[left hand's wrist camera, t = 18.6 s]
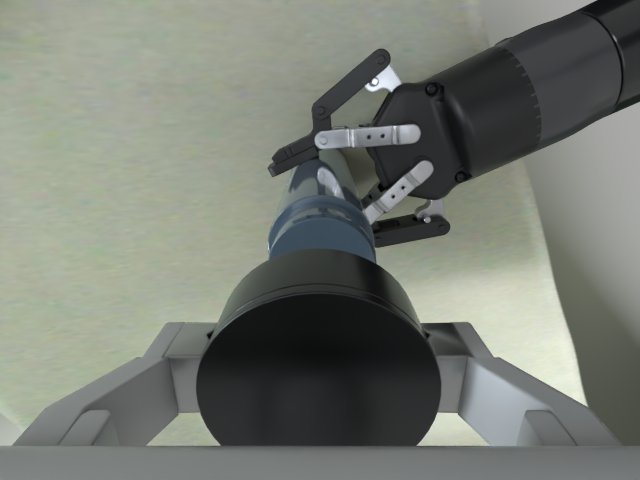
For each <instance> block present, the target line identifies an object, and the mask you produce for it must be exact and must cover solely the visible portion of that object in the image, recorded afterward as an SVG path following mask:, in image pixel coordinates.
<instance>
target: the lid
mask: <svg viewBox="0 0 640 480" xmlns="http://www.w3.org/2000/svg"><path fill="white" fill-rule="evenodd" d="M441 388H442V381H441V374H440V369H439V366H438V363H437V360H436V357H435V354H434V352H433V350H432V348H431V345H430V343H429V341H428V339H427V337H426V334H425V332H424V330H423V328H422V326H421V323H420V321H419V319H418V317H417V314H416V312H415V310H414V308H413V306H412V303H411V301H410V299H409V298H408V296H407V294H406V292H405V291H404V289H403V288H402V287H401V285H400V284H399V283H398V282H397V281H396V280H395V278H394V277H393V276H392V275H391V274H389V273H388V272H387V271H386V270H384V269H383V268H382V267H380V266H379V265H377V264H375V263H373V262H372V261H370V260H368V259H366V258H363V257H361V256H358V255H356V254H352V253H349V252H345V251H340V250H334V249H317V248H314V249H304V250H298V251H293V252H289V253H285V254H282V255H280V256H277V257H274V258H272V259H270V260H268V261H266V262H264V263H262V264H261V265H259V266H258V267H256V268H255V269H254V270H252V271H251V272H250V273H249V274H248V275H247V276H245V277H244V278H243V279H242V280H241V282H240V283H239V284H238V285H237V286H236V288H235V289H234V291H233V292H232V294H231V296H230V297H229V299H228V301H227V303H226V306H225V308H224V310H223V312H222V314H221V316H220V319H219V321H218V323H217V325H216V327H215V329H214V332H213V334H212V336H211V338H210V340H209V343H208V345H207V347H206V349H205V351H204V354H203V356H202V359H201V361H200V363H199V367H198V372H197V377H196V395H197V403H198V406H199V410H200V413H201V416H202V418H203V420H204V422H205V424H206V426H207V428H208V429H209V431H210V432H211V434H212V435H213V437H214V438H215V439H216V440H217V441H218V442H219V444H220V445H221V446H416V445H417V444H418V443H419V442H420V441H421V440H422V439H423V437H424V436H425V435H426V433H427V432H428V431H429V429H430V427H431V425H432V424H433V422H434V420H435V417H436V414H437V412H438V409H439V405H440V400H441Z"/></svg>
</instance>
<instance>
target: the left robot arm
mask: <svg viewBox="0 0 640 480" xmlns="http://www.w3.org/2000/svg"><path fill="white" fill-rule="evenodd" d="M216 325H217V323H201V322H186V323H185V322H169V323H166V324H165V326H164V327H163V328H162V330H161V331H160V333H159V334H158V336H157V337H156V338H155V340H154V341H153V343H152V344H151V346H150V347H149V348H148V350H147V351H146V353H145V354H144V356H143V357H137V358H135V359H133V360H131V361H130V362H128V363H126V364H124V365H122V366H121V367H119V368H117V369H115V370H113V371H112V372H110V373H108V374H106V375H104V376H103V377H101V378H99V379H97V380H95V381H94V382H92V383H90V384H88V385H86V386H85V387H83V388H81V389H79V390H77V391H76V392H74V393H72V394H70V395H68V396H67V397H65V398H63V399H61V400H59V401H58V402H56V403H54V404H52V405H50V406H49V407H47V408H45V409H44V410H43V412H42V413H41V414H40V415H39V416H38V417H37V418H36V419H35V420H34V422H33V423H32V424H31V425H30V426H29V427H28V428H27V429H26V430H25V432H24V433H23V434H22V435H21V436H20V437H19V438H18V439H17V440H16V442H15V443H14V444H13V445H12V446H0V480H640V446H623V445H622V444H621V443H620V442H619V441H618V440H617V438H616V437H615V436H614V435H613V434H612V433H611V432H610V430H609V429H608V428H607V427H606V426H605V425H604V424H603V422H602V421H601V420H600V419H599V418H598V417H597V416H596V414H595V413H594V412H593V411H592V410H591V409H590V408H588V407H586V406H585V405H583V404H581V403H579V402H578V401H576V400H574V399H572V398H570V397H569V396H567V395H565V394H563V393H562V392H560V391H558V390H556V389H554V388H553V387H551V386H549V385H547V384H546V383H544V382H542V381H540V380H538V379H537V378H535V377H533V376H531V375H530V374H528V373H526V372H524V371H522V370H521V369H519V368H517V367H515V366H514V365H512V364H510V363H508V362H506V361H505V360H503V359H501V358H499V357H493V355H492V354H491V352H490V351H489V350H488V348H487V347H486V345H485V344H484V342H483V341H482V339H481V338H480V337H479V335H478V334H477V332H476V331H475V329H474V328H473V326H472V325H471V324H470V323H469V322H450V323H421V326H422V328H423V330H424V332H425V334H426V337H427V339H428V341H429V343H430V345H431V348H432V350H433V352H434V354H435V357H436V360H437V363H438V366H439V369H440V374H441V381H442V388H441V400H440V405H439V409H438V412H441V413H458V415H459V416H460V417H461V418H462V419H463V420H464V421H465V422H466V423H467V424H468V425H470V426H471V427H472V428H473V429H474V430H475V431H476V432H477V433H478V434H479V435H480V436H481V437H482V438H483V439H484V440H485V441H486V442H487V443H489V444H490V445H491V446H146V445H147V444H148V443H149V442H150V441H151V440H152V439H153V438H154V437H155V436H156V435H157V434H158V433H159V432H161V431H162V430H163V429H164V428H165V427H166V426H167V425H168V424H169V423H170V422H171V421H172V420H173V419H174V418H175V417H177V416H178V413H195V412H200V410H199V406H198V403H197V395H196V377H197V372H198V367H199V363H200V361H201V359H202V356H203V354H204V351H205V349H206V347H207V345H208V343H209V340H210V338H211V336H212V334H213V332H214V329H215V327H216Z"/></svg>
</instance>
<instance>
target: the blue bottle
mask: <svg viewBox="0 0 640 480" xmlns="http://www.w3.org/2000/svg"><path fill="white" fill-rule="evenodd" d="M374 247H375V244H374V234H373V231H372V227H371V225H370V222H369V220H368V217H367V214H366V212H365V209H364V206H363V204H362V201H361V199H360V196H359V193H358V191H357V188H356V186H355V183H354V180H353V178H352V175H351V173H350V170H349V167H348V165H347V162H346V160H345V158H344V156H343V155H342V154H341V152H340V151H338V150H337V149H336V148H335V149H323V150H321V151H319V156H317V157H314V158H312V159H310V160H308V161H306V162H304V163H302V164H300V165H298V166H296V167H294V168H292V171H291V174H290V177H289V179H288V182H287V185H286V188H285V190H284V193H283V196H282V198H281V201H280V204H279V207H278V209H277V212H276V215H275V218H274V220H273V223H272V226H271V229H270V232H269V237H268V252H269V259H268V260H270V259H272V258H274V257H277V256H280V255H282V254H285V253H289V252H293V251H298V250H304V249H314V248H317V249H334V250H340V251H345V252H349V253H352V254H356V255H358V256H361V257H363V258H366V259H368V260H370V261H372V262H373V263H375V264H376V253H375V249H374Z"/></svg>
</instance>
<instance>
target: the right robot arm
mask: <svg viewBox="0 0 640 480" xmlns="http://www.w3.org/2000/svg"><path fill="white" fill-rule="evenodd" d="M363 87H364V88H365V90H367V91H369V92H375V91H378V90H379V89H386V90H387V91H388V92H389V93H388V95H387V97H386V98H385V100H384V102H383V104H382V105H381V107H380V109H379V110H378V112H377V114H376V116H375V117H374V119H373V121H372V123H365V124H353V125H347V126H338V127H331V117H330V115H331V114H332V113H333V112H334V111H336V110H337V109H338V108H339V107H340V106H342V105H343V104H344V103H345V102H346V101H347V100H349V99H350V98H351V97H352V96H353V95H355V94H356V93H357V92H358V91H359V90H361V89H362V88H363ZM638 102H640V0H597V1H595V2H593V3H591V4H589V5H587V6H585V7H583V8H580V9H579V10H576V11H575V12H572V13H570V14H568V15H566V16H563V17H561V18H558V19H556V20H553V21H550V22H547V23H544V24H541V25H538V26H535V27H533V28H531V29H528V30H526V31H524V32H522V33H520V34H518V35H516V36H514V37H510V38H506V39H504V40H502V41H500V42H498V43H497V44H496V45H495V46H494V47H491V48H489V49H487V50H485V51H483V52H481V53H479V54H477V55H475V56H473V57H471V58H469V59H467V60H465V61H463V62H461V63H459V64H457V65H455V66H453V67H451V68H449V69H447V70H445V71H443V72H441V73H439V74H436V75H434V76H432V77H430V78H428V79H426V80H424V81H422V82H419V83H402V81H401V80H400V78H399V77H398V75H397V74H396V72H395V71H394V69H393V68H392V66H391V65H390V54H389V53H388V51H387V50H385V49H378V50H376V51H375V52H373V53H372V54H371V55H369V56H368V57H367V58H366V59H365V60H364V61H363V62H361V63H360V64H359V65H358V66H357V67H356V68H354V69H353V70H352V71H351V72H350V73H349V74H347V75H346V76H345V77H344V78H343V79H342V80H340V81H339V82H338V83H337V84H336V85H335V86H333V87H332V88H331V89H330V90H329V91H328V92H326V93H325V94H324V95H323V96H322V97H321V98H319V99H318V100H317V101H316V102H315V103H314V104H313V106H312V117H313V130H312V132H311V133H310V134H309V135H307V136H305V137H303V138H301V139H299V140H297V141H295V142H293V143H291V144H289V145H287V146H285V147H283V148H281V149H279V150H278V151H277V152H276V153H275V154H274V156H273V157H272V160H273V163H272V164H270V165H269V167H268V170H269V172H270V174H271V175H272V177H274V176H277V175H279V174H281V173H283V172H285V171H287V170H289V169H291V168H294V167H296V166H298V165H300V164H302V163H304V162H306V161H308V160H310V159H312V158H314V157H317V156H319V151H321V150H323V149H335V148H347V147H350V148H359V147H366V150H367V152H368V154H369V155H370V156H371V158H372V159H373V160H374V162H375V169H376V174H377V176H378V178H379V181H378V182H377V183H376V184H375V185H374V186H373V187H372V188H371V189H370V191H369V193H368V194H367V195H366V196H365V197H364V198H363V199H362V200H361V201H362V204H363V206H364V209H365V212H366V214H367V217H368V220H369V222H370V225H371V227H372V231H373V234H374V244H375V247H377V248H379V247H384V246H389V245H394V244H400V243H405V242H410V241H415V240H420V239H426V238H431V237H436V236H441V235H445V234H447V233H448V232H449V230H450V224H449V222H448V221H447V220H446V219H445V214H444V202H443V198H444V197H445V196H446V195H447V194H448V193H449V192H450V191H451V190H452V189H453V188H454V187H455V186H456V185H458V184H460V183H462V182H465V181H468V180H471V179H473V178H476V177H478V176H480V175H482V174H485V173H487V172H489V171H492V170H494V169H496V168H499V167H501V166H503V165H505V164H508V163H510V162H512V161H514V160H517V159H519V158H521V157H524V156H526V155H528V154H531V153H533V152H535V151H537V150H540V149H542V148H544V147H547V146H549V145H551V144H554V143H556V142H558V141H560V140H563V139H565V138H567V137H569V136H571V135H573V134H575V133H576V132H578V131H580V130H582V129H583V128H585V127H587V126H588V125H590V124H592V123H593V122H595V121H597V120H599V119H601V118H603V117H606V116H608V115H610V114H613V113H615V112H617V111H619V110H622V109H624V108H626V107H629V106H631V105H633V104H635V103H638ZM392 195H394V196H392ZM406 196H412V197H418V198H423V199H427V201H426V203H425V204H424V205H422V206H420V207H418V208H417V209H416V210H415V212H414V214H411V215H406V216H401V217H396V218H391V219H386V220H381V221H376V220H377V219H378V218H379V217H380V216H381V215H382V214H384V213H387V212H389V211H390V210H391V209H392V208H393V207H395V206H396V205H397V204H398V203H399V202H400V201H401V200H402V199H403V198H404V197H406Z"/></svg>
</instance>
